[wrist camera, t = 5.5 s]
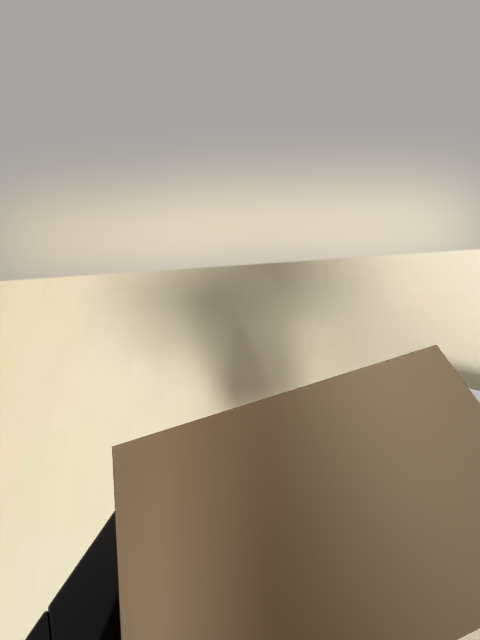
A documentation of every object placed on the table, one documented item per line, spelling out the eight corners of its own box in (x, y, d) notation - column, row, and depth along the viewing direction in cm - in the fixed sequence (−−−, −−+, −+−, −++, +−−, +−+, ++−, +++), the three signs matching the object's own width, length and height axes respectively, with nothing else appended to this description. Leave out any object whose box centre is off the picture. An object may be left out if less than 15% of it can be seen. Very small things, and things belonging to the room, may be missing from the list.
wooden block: (305, 426, 14) (436, 344, 4) (330, 489, 13) (601, 567, 3) (207, 459, 13) (111, 447, 4) (221, 530, 12) (129, 800, 2)
